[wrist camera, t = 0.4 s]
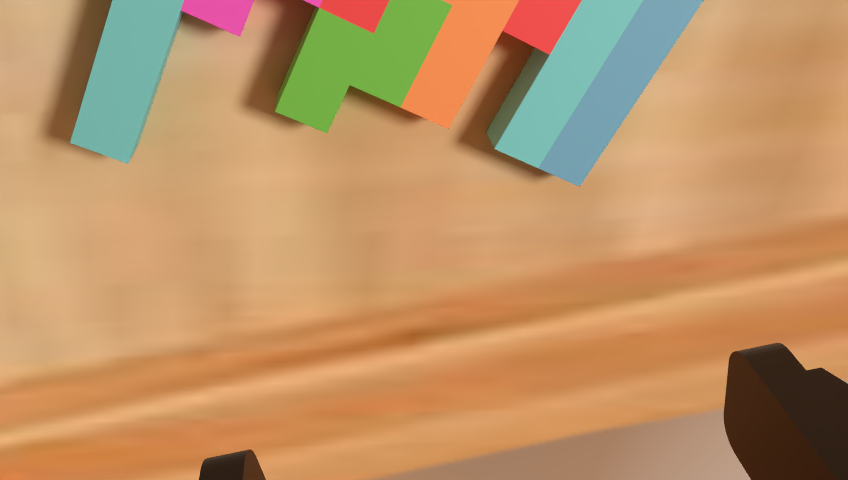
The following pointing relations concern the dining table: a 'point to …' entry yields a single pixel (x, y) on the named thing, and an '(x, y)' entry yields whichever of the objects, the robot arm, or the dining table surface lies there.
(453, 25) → the tetris game
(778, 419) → the robot arm
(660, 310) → the dining table surface
